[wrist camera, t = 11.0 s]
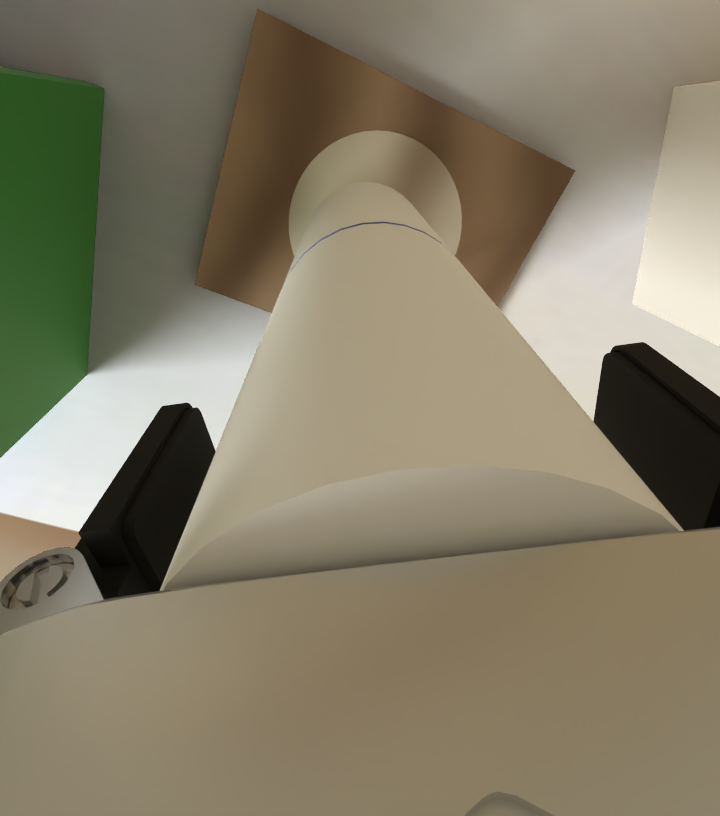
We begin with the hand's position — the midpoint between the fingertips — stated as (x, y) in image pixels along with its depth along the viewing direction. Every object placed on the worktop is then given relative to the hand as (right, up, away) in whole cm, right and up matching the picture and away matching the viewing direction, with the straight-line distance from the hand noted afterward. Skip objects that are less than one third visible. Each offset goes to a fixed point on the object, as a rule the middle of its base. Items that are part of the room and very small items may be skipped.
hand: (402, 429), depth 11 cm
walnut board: (0, +11, +17) cm, 21 cm away
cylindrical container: (-1, +10, +17) cm, 19 cm away
